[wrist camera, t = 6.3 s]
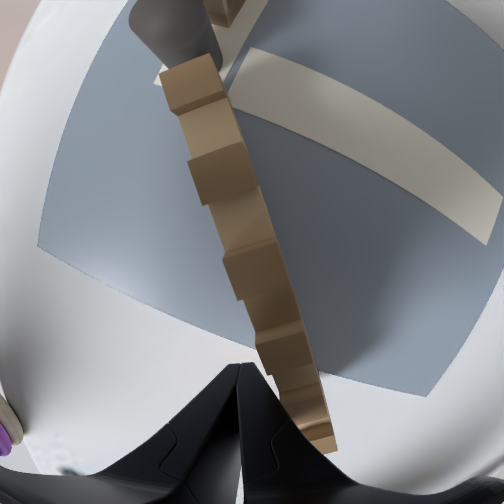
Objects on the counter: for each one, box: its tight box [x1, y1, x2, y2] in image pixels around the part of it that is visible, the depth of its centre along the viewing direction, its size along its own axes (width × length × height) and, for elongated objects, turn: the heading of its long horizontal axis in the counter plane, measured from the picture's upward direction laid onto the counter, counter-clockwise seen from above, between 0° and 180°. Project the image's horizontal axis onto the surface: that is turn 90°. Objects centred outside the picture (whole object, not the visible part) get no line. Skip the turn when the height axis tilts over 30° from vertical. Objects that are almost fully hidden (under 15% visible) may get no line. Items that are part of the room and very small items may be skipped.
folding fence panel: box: [159, 53, 338, 455], centre depth 8 cm, size 12×1×3 cm, turn 19°
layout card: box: [37, 0, 504, 397], centre depth 9 cm, size 20×18×1 cm
